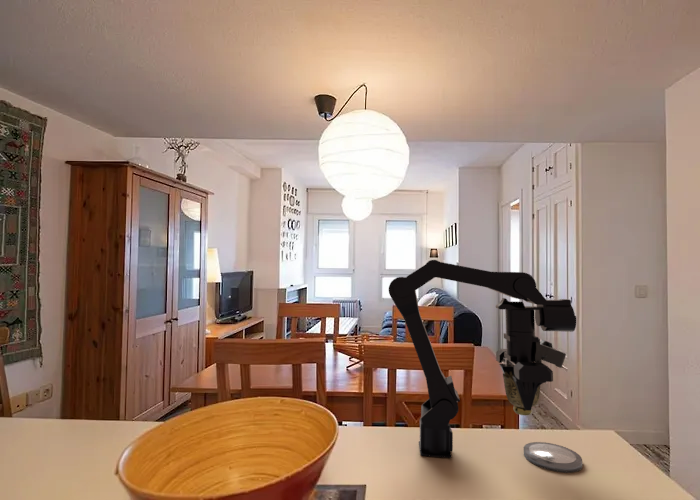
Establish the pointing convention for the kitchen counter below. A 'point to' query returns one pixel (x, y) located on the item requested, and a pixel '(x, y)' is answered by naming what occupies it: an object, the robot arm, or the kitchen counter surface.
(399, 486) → the kitchen counter surface
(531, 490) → the kitchen counter surface
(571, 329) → the robot arm
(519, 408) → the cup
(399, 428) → the kitchen counter surface
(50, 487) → the kitchen counter surface
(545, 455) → the gray-rimmed plate
